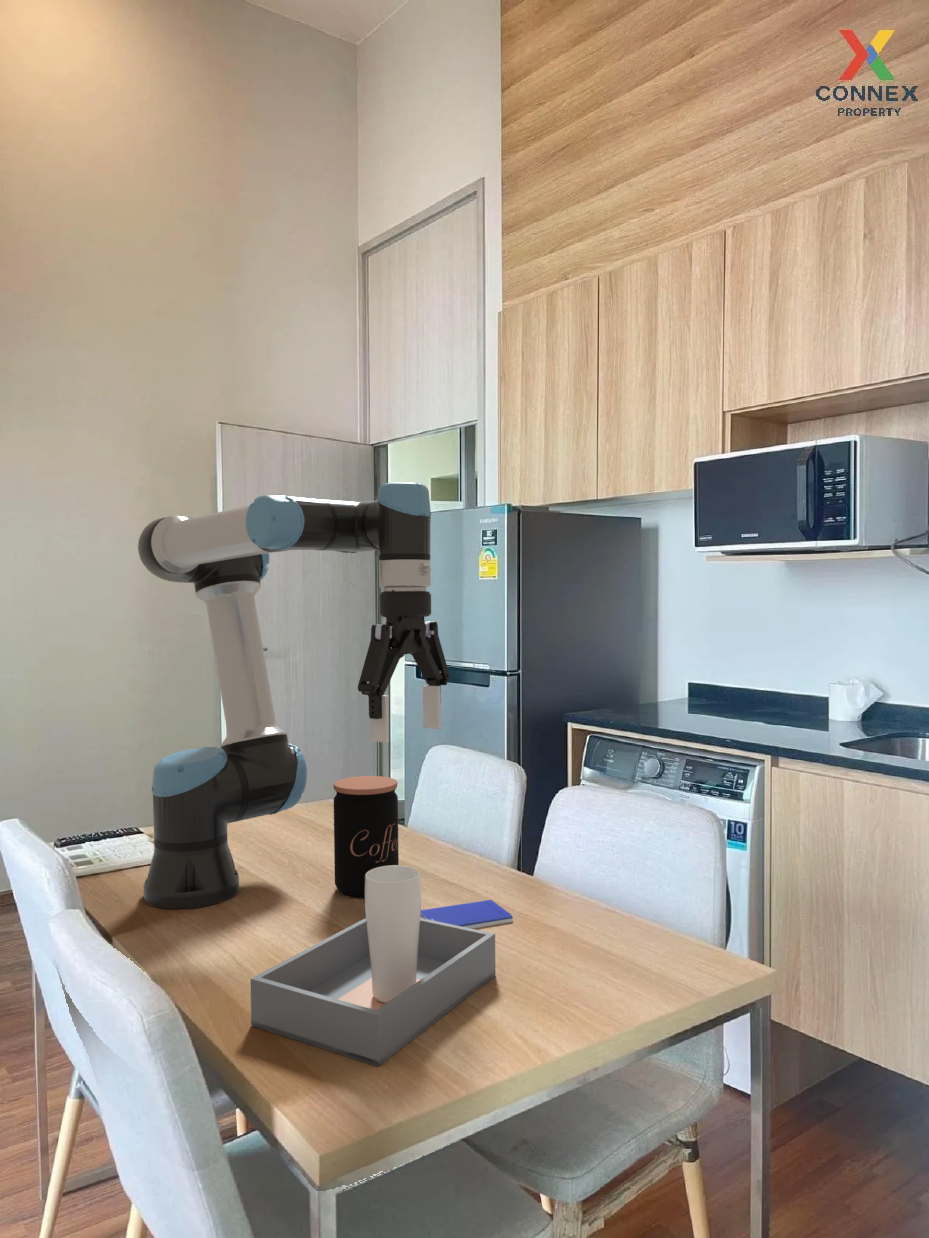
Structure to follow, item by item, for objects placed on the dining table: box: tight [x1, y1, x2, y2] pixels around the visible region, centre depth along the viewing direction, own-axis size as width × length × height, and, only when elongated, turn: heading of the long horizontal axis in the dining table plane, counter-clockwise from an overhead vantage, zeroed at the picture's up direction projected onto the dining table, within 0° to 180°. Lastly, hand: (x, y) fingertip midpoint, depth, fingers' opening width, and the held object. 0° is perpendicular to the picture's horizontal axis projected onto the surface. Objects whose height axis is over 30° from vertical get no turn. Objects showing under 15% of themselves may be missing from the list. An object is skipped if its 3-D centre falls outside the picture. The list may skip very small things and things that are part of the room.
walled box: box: [250, 917, 496, 1068], centre depth 110 cm, size 18×26×6 cm
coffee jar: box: [333, 775, 400, 899], centre depth 151 cm, size 11×11×18 cm
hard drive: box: [420, 899, 514, 929], centre depth 137 cm, size 2×8×12 cm
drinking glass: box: [364, 864, 422, 1003], centre depth 109 cm, size 7×7×15 cm
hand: (407, 734), depth 132 cm, fingers open, 13 cm apart
